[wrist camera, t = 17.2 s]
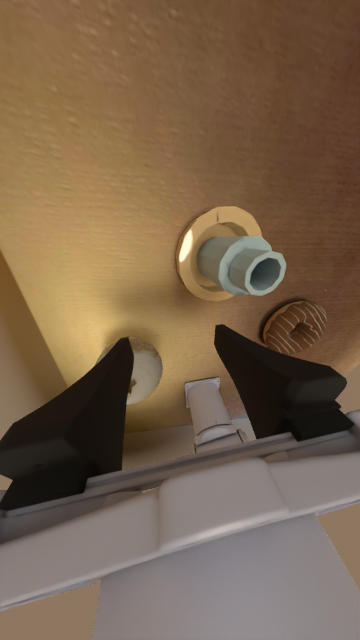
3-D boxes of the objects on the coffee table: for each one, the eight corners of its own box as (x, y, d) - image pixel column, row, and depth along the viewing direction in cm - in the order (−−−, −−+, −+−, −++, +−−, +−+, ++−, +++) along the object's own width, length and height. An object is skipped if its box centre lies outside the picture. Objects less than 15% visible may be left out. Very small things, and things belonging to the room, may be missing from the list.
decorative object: (117, 367, 26) (98, 431, 18) (98, 328, 22) (61, 388, 13) (164, 359, 27) (169, 415, 18) (156, 319, 22) (156, 369, 14)
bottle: (239, 249, 18) (311, 259, 10) (218, 282, 20) (264, 315, 12) (209, 228, 17) (267, 218, 8) (189, 266, 19) (219, 290, 10)
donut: (256, 351, 30) (270, 366, 26) (259, 307, 24) (276, 319, 21) (305, 336, 30) (325, 349, 26) (318, 290, 24) (345, 298, 21)
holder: (241, 289, 22) (253, 296, 19) (178, 297, 21) (181, 305, 18) (255, 209, 17) (273, 204, 14) (172, 213, 16) (175, 208, 13)
